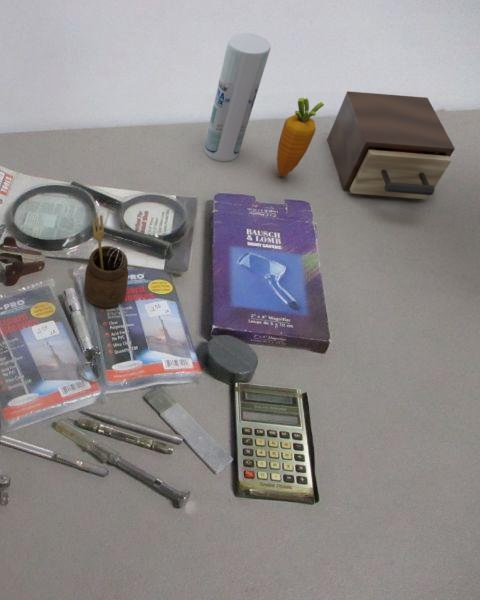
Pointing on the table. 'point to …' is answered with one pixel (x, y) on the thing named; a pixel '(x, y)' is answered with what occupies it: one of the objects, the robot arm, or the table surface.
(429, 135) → the cabinet
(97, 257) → the utensil holder
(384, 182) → the drawer
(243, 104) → the spray can
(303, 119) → the carrot
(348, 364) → the table surface
